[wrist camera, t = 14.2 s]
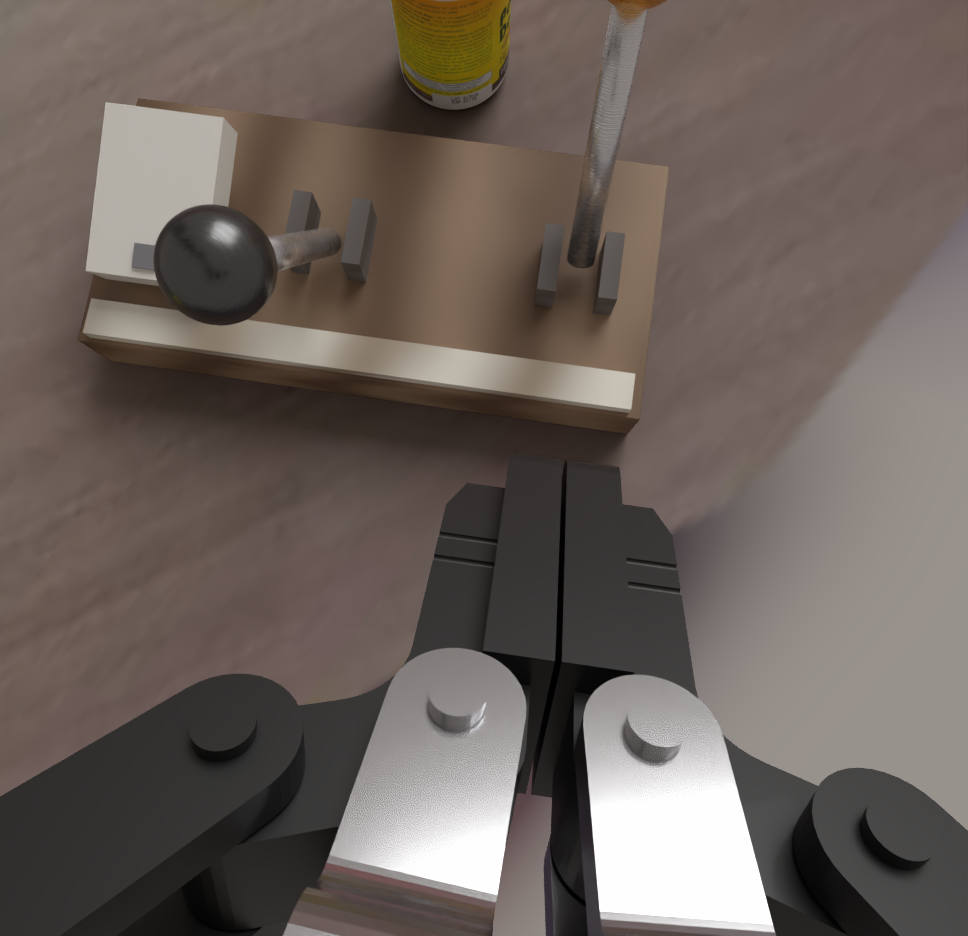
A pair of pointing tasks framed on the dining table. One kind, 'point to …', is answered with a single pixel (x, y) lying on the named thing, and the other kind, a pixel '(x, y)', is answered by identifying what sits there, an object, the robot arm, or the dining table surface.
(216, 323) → the lever black
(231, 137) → the block
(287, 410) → the dining table surface
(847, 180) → the dining table surface
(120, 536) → the dining table surface
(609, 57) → the lever orange
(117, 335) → the panel
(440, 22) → the supplement bottle
